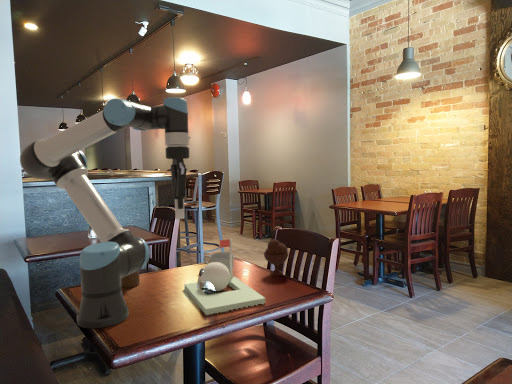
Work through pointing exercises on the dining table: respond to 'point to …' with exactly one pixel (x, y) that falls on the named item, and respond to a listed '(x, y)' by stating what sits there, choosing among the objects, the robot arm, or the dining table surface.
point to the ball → (216, 275)
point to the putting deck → (225, 293)
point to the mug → (130, 280)
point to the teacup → (220, 258)
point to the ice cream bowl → (276, 255)
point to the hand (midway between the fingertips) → (180, 218)
